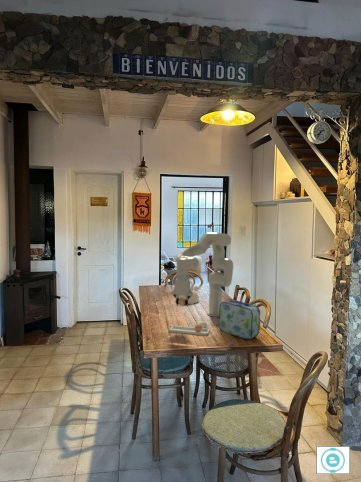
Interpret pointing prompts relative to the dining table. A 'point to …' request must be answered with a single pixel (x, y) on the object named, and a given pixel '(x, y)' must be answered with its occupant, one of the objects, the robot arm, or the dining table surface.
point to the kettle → (193, 298)
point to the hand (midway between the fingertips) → (182, 304)
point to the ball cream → (203, 324)
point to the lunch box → (239, 319)
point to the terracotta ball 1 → (181, 301)
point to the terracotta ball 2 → (198, 328)
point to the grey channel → (188, 330)
